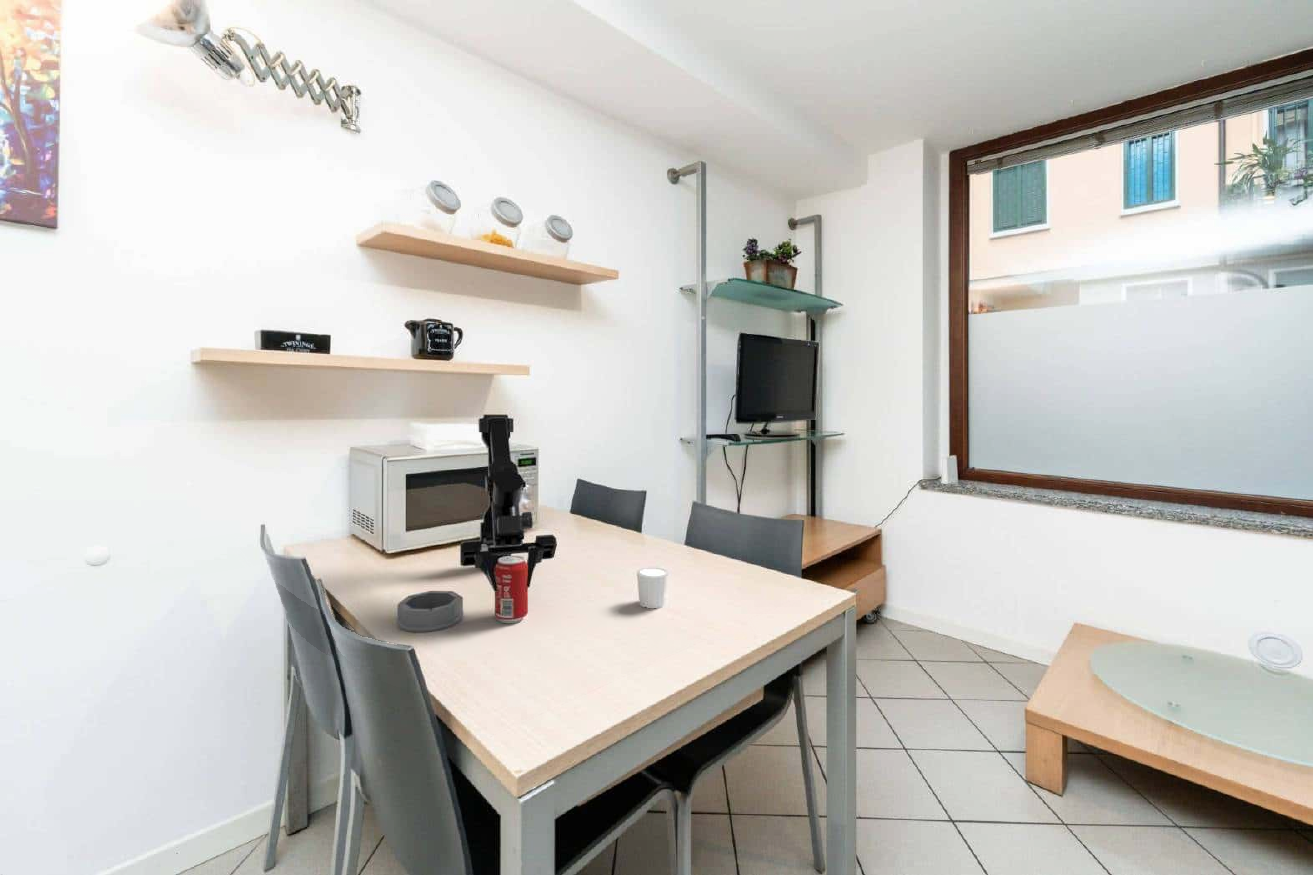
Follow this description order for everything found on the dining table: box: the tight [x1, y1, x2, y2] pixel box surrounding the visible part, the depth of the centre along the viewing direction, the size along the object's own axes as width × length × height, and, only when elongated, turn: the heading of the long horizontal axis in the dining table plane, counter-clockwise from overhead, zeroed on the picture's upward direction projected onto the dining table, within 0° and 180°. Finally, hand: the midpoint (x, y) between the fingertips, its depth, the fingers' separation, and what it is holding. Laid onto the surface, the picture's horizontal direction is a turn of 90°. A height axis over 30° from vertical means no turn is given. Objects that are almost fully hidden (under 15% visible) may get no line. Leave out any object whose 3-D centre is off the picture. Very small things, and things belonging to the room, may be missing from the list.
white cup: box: [636, 567, 670, 609], centre depth 118 cm, size 7×7×7 cm
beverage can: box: [494, 555, 529, 624], centre depth 109 cm, size 6×6×12 cm
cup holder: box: [396, 590, 464, 633], centre depth 108 cm, size 12×12×4 cm
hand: (512, 588), depth 108 cm, fingers closed on beverage can, 6 cm apart
